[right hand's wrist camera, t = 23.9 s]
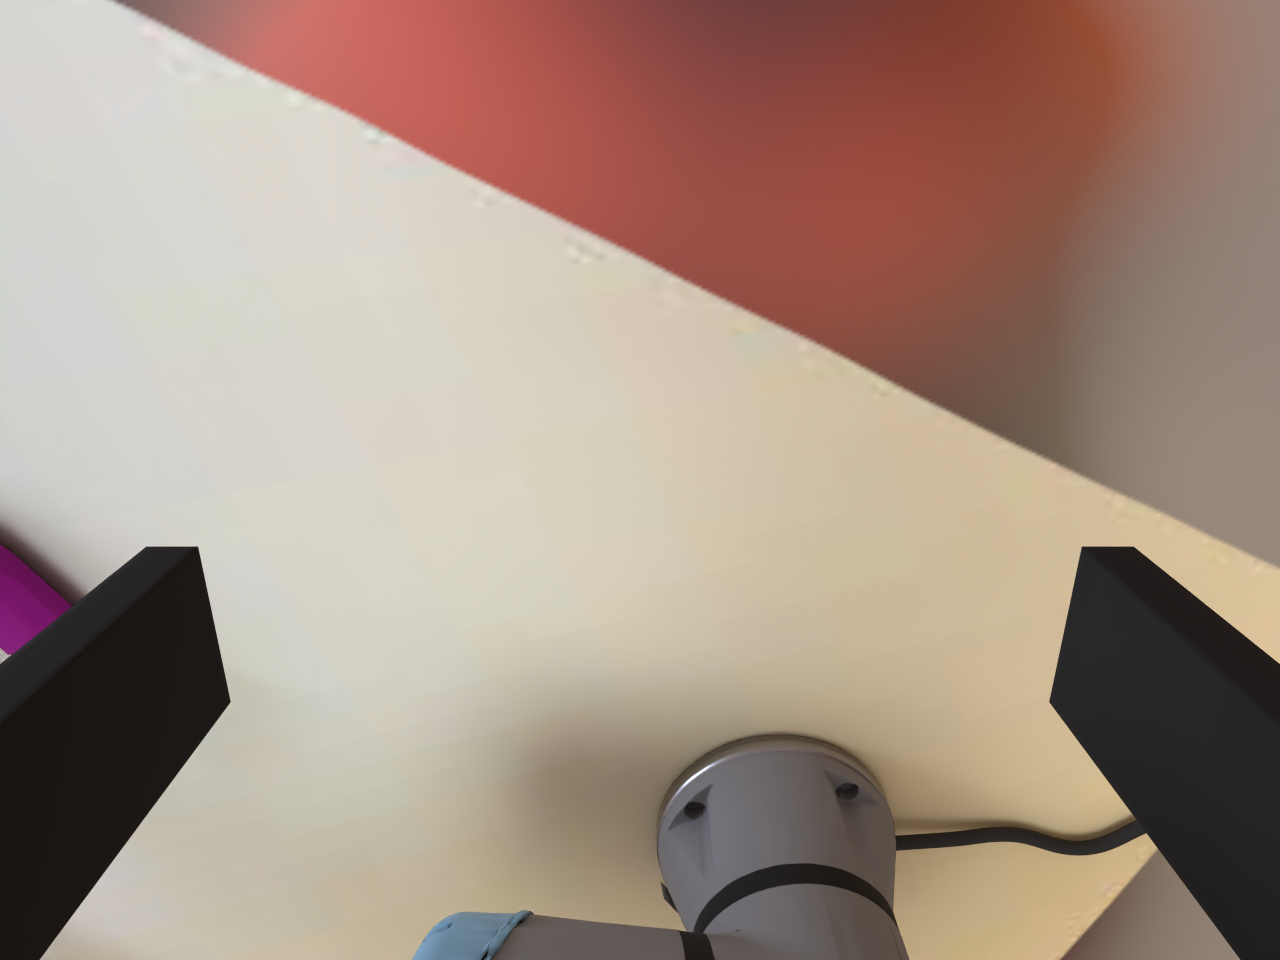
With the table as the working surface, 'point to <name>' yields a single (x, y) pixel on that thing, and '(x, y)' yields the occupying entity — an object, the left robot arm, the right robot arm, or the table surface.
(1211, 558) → the table surface
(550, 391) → the table surface
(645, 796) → the table surface
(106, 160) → the table surface
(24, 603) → the spray bottle
